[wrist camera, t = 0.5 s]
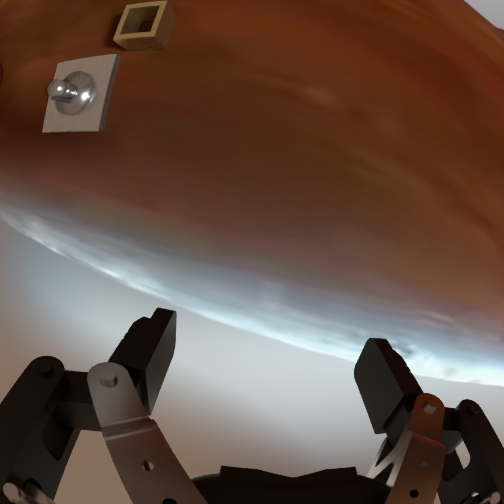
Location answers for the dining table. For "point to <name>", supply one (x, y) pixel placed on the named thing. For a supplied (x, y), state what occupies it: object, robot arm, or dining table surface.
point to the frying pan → (1, 73)
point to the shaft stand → (80, 94)
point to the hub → (145, 12)
